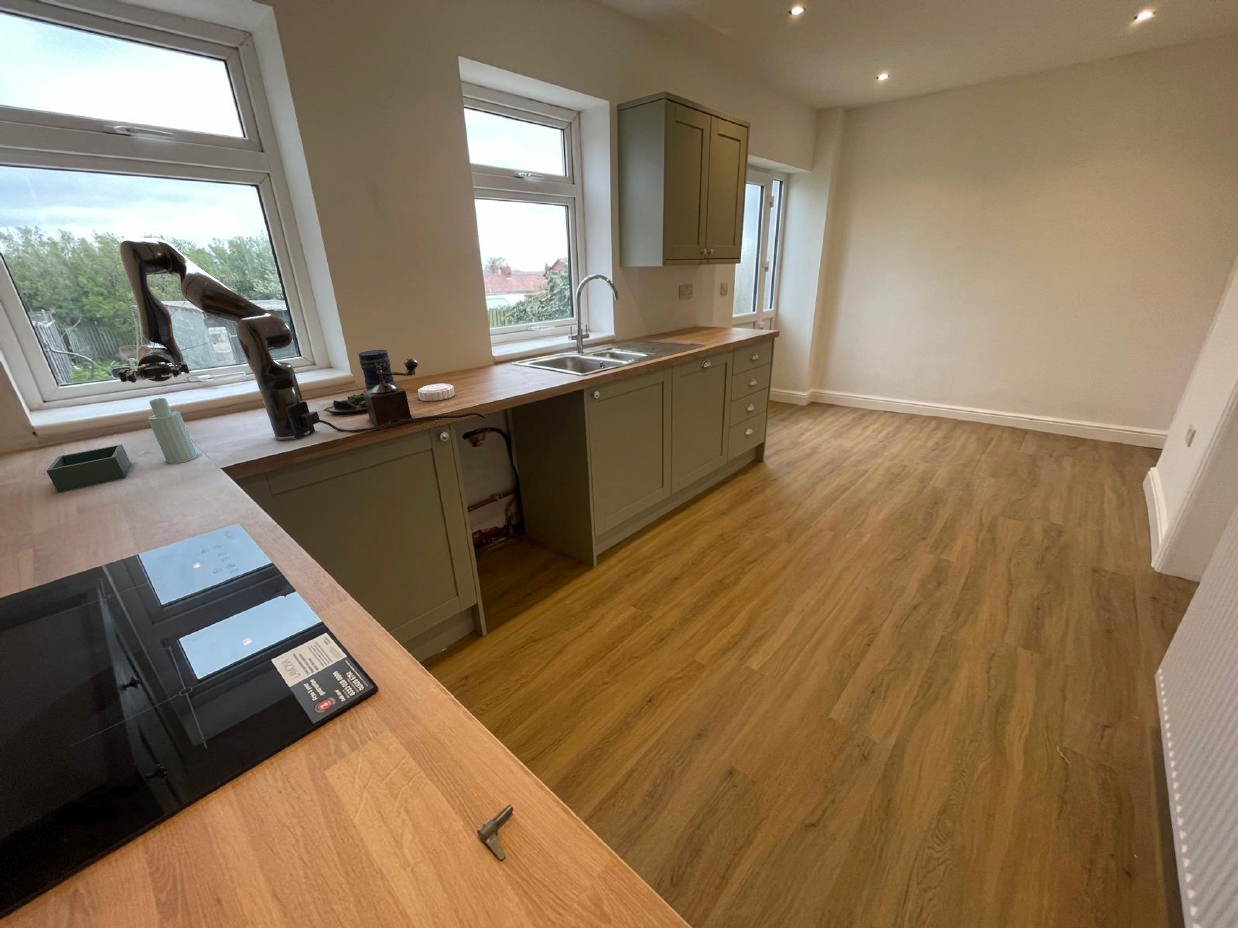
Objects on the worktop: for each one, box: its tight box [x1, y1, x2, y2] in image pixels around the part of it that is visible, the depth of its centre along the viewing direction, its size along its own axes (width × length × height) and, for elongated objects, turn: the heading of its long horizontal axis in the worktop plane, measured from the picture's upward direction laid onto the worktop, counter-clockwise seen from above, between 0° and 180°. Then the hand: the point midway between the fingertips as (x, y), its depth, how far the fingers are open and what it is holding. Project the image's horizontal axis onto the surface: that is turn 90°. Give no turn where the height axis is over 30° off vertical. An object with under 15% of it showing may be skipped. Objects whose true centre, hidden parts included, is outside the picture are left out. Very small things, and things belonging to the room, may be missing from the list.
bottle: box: [147, 397, 198, 465], centre depth 128 cm, size 6×6×16 cm
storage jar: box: [357, 349, 396, 390], centre depth 183 cm, size 10×10×15 cm
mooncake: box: [417, 382, 455, 402], centre depth 176 cm, size 12×12×4 cm
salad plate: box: [322, 392, 368, 417], centre depth 168 cm, size 19×18×5 cm
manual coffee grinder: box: [362, 358, 419, 427], centre depth 152 cm, size 16×11×18 cm
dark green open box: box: [45, 443, 132, 493], centre depth 121 cm, size 12×12×6 cm
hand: (153, 375), depth 131 cm, fingers open, 8 cm apart
